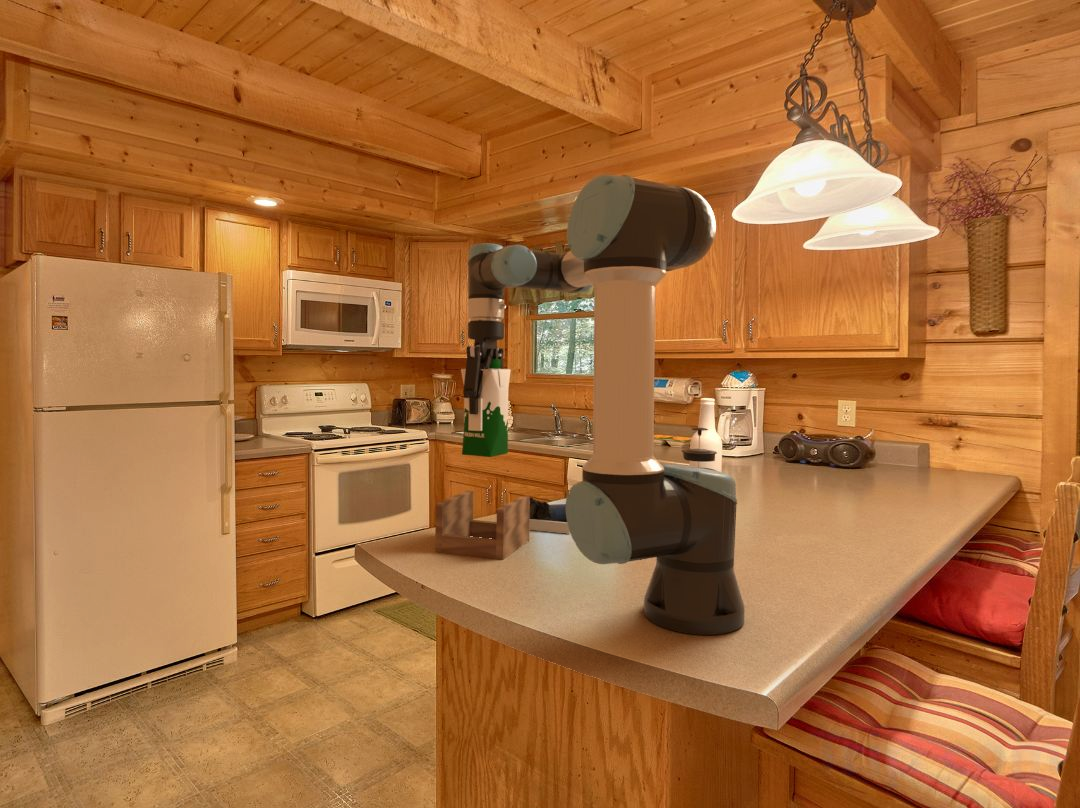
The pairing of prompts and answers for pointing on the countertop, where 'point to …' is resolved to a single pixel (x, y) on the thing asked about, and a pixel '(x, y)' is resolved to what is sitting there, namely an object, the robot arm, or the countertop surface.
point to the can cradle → (548, 526)
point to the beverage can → (547, 511)
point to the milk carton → (489, 414)
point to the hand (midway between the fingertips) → (485, 428)
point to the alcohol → (707, 436)
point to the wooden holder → (480, 528)
